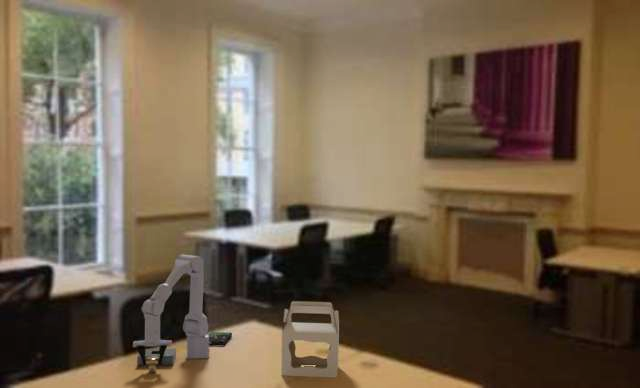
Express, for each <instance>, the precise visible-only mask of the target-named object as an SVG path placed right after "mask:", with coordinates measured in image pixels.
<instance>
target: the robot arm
mask: <svg viewBox="0 0 640 388" xmlns="http://www.w3.org/2000/svg"><path fill="white" fill-rule="evenodd" d="M204 262H205V261H204V259H203V258H202V257H201V256H199V255H191V254H184V253H181V254H179V255H178V256H177V258H176V259H175V261H174V267H173V269H172V270H171V272H170V274H169V275H168V277H167V278H166V279H165V281H164V282H163V283H160V284H159V285H158V286H157V287H156V289H155V291H154V292H153V294H152V295H151V296H150V297H149V299H146V300H145V301H144V302H143V304H142V306H141V311H142V314H143V318H144V339H143V340H142V339H141V340H134V341H133V343H132V348H136V349H137V350H136V351H137V352H138V355H139V354H140V356H141V359H142V363H143V366H142V367H146V366H145V358H146V357H145V353H146V349H147V347H159V348H158V349H159V353H160V359H159V365H161V364H162V359H163V355H164V352H165V350H166V349H168V348H169V347H172V345H173V343H172V342H173V341H172V339H171V340H170V339H169V340H166V339H161V315H162V313H163V312H164V309H165V304H166V302H167V301H168V299H169V298H170V296H172V293H173V287H174V286H175V285H176V283H177V282H178V281H179V280H180V279H181V277H182V276H183V275H185V274H187V275H189V276H190V281H189V282H190V287H189V308H188V309H189V311H188V313H187V314H186V315H185V316H184V322H183V324H182V330H183V332H184V333H185V336H186V354H185V357H184V359H186V360H187V359H209V354H210V352H211V351H210V345H209V334H207V333H208V331H209V324H208V323H209V322H208V317H207V316H206V315H205V314H204V312H203V306H204V305H203V300H204V278H205V277H204V276H205V275H204V274H205V271H204V266H205V265H204ZM167 347H168V348H167Z"/></svg>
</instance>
